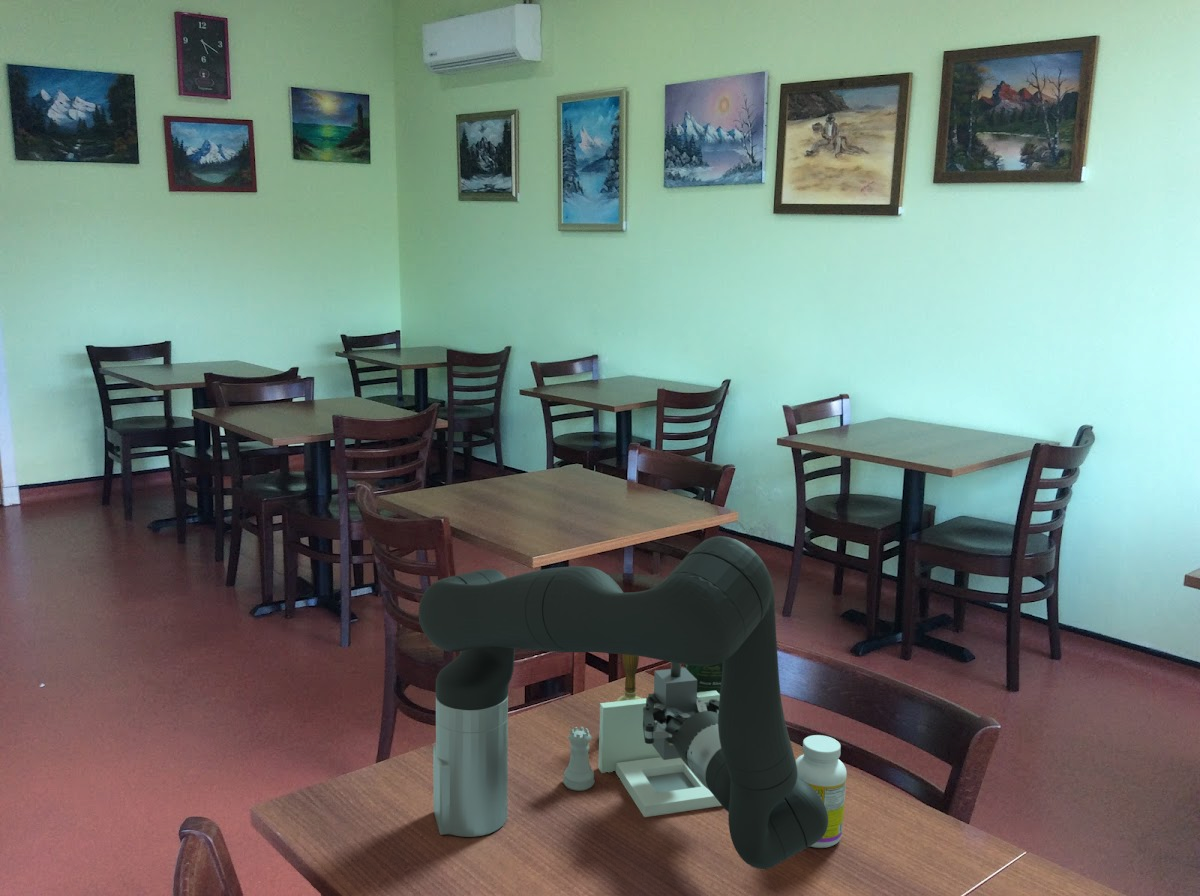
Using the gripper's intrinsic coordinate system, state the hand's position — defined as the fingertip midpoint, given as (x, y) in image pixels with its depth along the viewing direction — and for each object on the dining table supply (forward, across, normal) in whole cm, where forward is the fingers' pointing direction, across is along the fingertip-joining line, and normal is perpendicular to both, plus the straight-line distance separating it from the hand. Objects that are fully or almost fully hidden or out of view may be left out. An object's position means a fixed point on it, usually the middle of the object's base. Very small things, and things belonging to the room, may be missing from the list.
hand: (667, 698), depth 139 cm
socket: (-1, -1, +12) cm, 12 cm away
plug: (-3, 0, +6) cm, 7 cm away
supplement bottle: (-18, -14, +13) cm, 26 cm away
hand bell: (+15, 0, +12) cm, 20 cm away
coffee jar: (+13, -12, +12) cm, 22 cm away
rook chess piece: (+2, +12, +12) cm, 18 cm away
